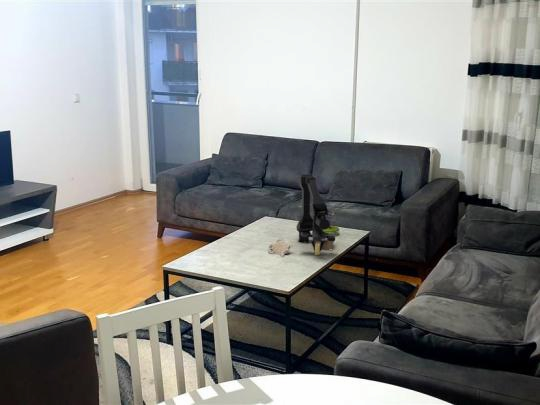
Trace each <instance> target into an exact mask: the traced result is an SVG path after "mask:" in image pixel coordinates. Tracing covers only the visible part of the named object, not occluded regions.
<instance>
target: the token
mask: <svg viewBox="0 0 540 405" xmlns="http://www.w3.org/2000/svg"><path fill="white" fill-rule="evenodd" d="M320 254H321V252H320V243H316V244H315V252H314V255H315V256H320Z"/></svg>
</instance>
